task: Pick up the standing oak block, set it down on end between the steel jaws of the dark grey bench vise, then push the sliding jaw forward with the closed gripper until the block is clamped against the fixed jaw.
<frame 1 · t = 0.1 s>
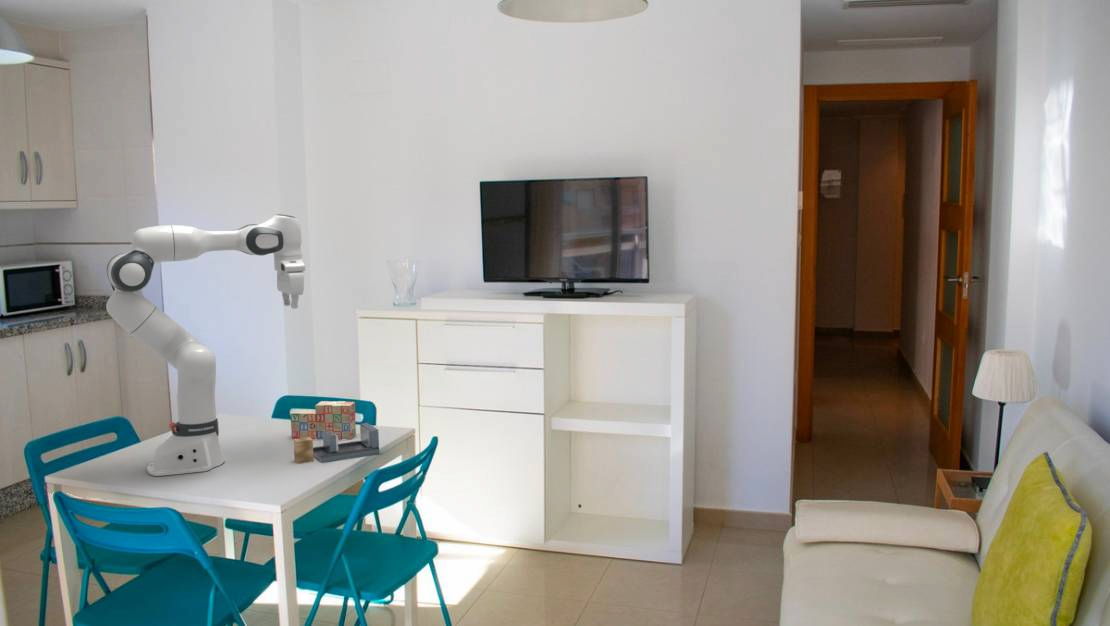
hand: (290, 307, 297), 48 cm above the table, tool pointing down, fingers open, 8 cm apart
oak block: (304, 460, 290), on the table
sliding jaw: (330, 441, 293), point 5 cm above the table, slide at 0.0 cm
stack of blocks: (324, 437, 319), on the table
vise base: (345, 454, 296), on the table
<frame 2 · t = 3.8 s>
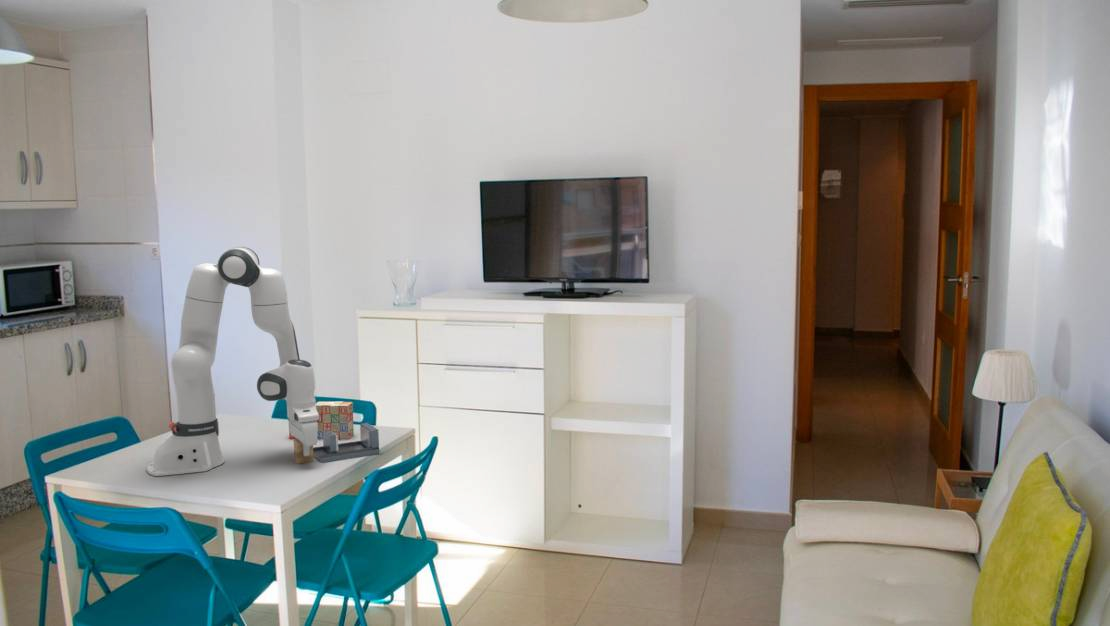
hand: (303, 453, 289), 2 cm above the table, tool pointing down, fingers closed on oak block, 4 cm apart
oak block: (304, 460, 290), on the table, touching gripper
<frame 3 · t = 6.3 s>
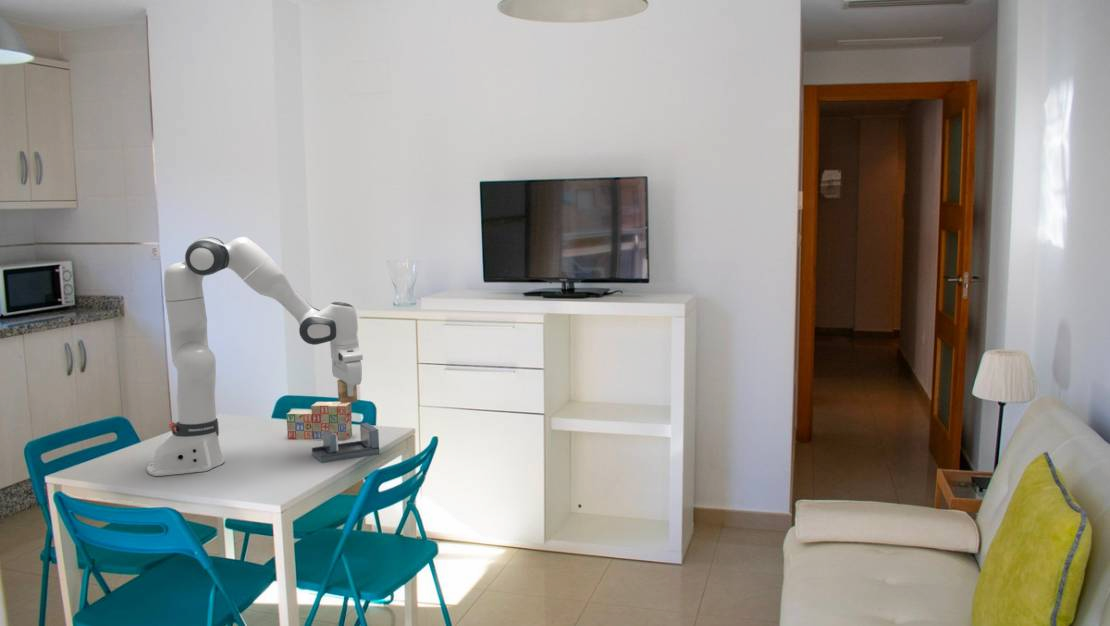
hand: (347, 394, 294), 20 cm above the table, tool pointing down, fingers closed on oak block, 4 cm apart
oak block: (348, 401, 295), point 17 cm above the table, touching gripper
when the fingers open (5 cm above the table, at t = 8.9 s): oak block drops 1 cm, resting on vise base.
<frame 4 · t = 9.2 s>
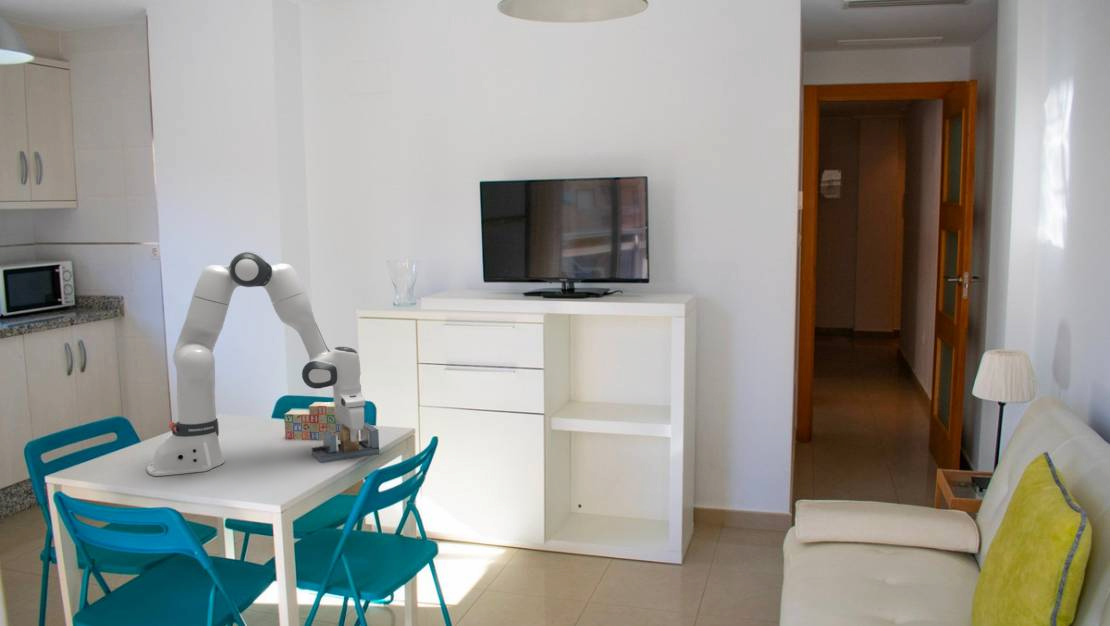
hand: (349, 438, 296), 5 cm above the table, tool pointing down, fingers open, 6 cm apart
oak block: (349, 449, 297), point 1 cm above the table, touching vise base
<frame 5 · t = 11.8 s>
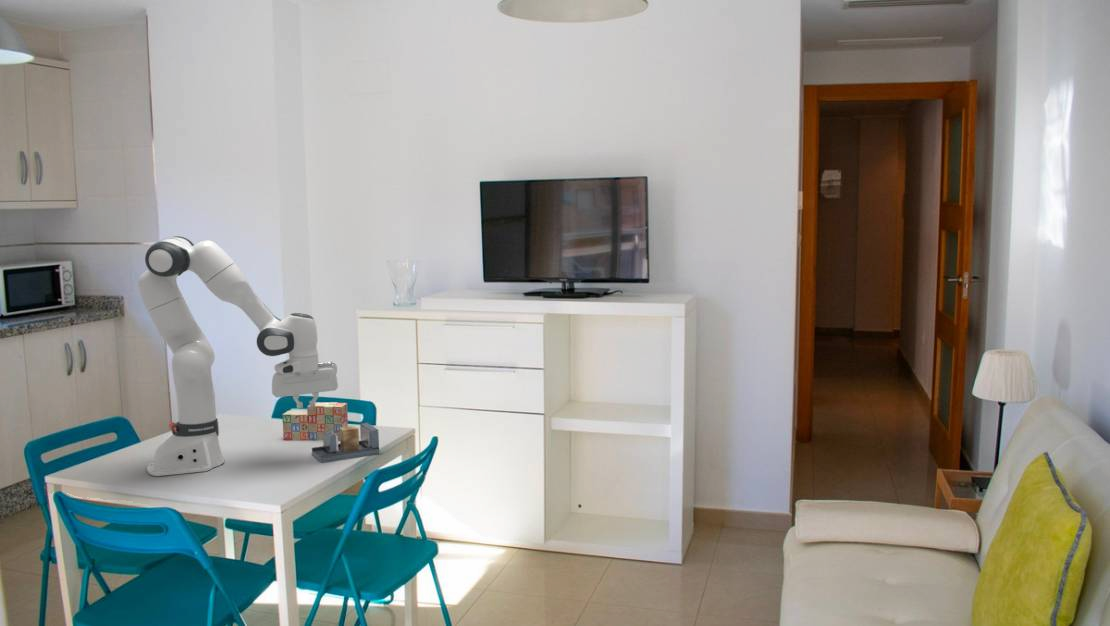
hand: (306, 407, 288), 17 cm above the table, tool pointing down, fingers open, 3 cm apart
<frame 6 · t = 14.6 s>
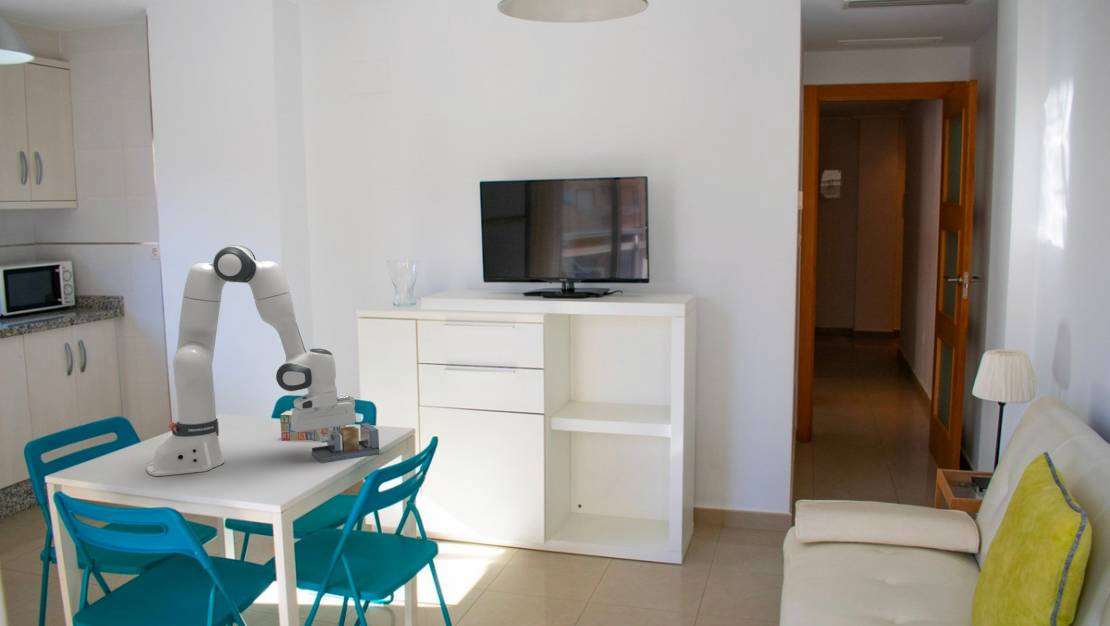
hand: (325, 441, 292), 5 cm above the table, tool pointing down, fingers closed
sliding jaw: (334, 441, 294), point 5 cm above the table, slide at 1.4 cm, touching gripper
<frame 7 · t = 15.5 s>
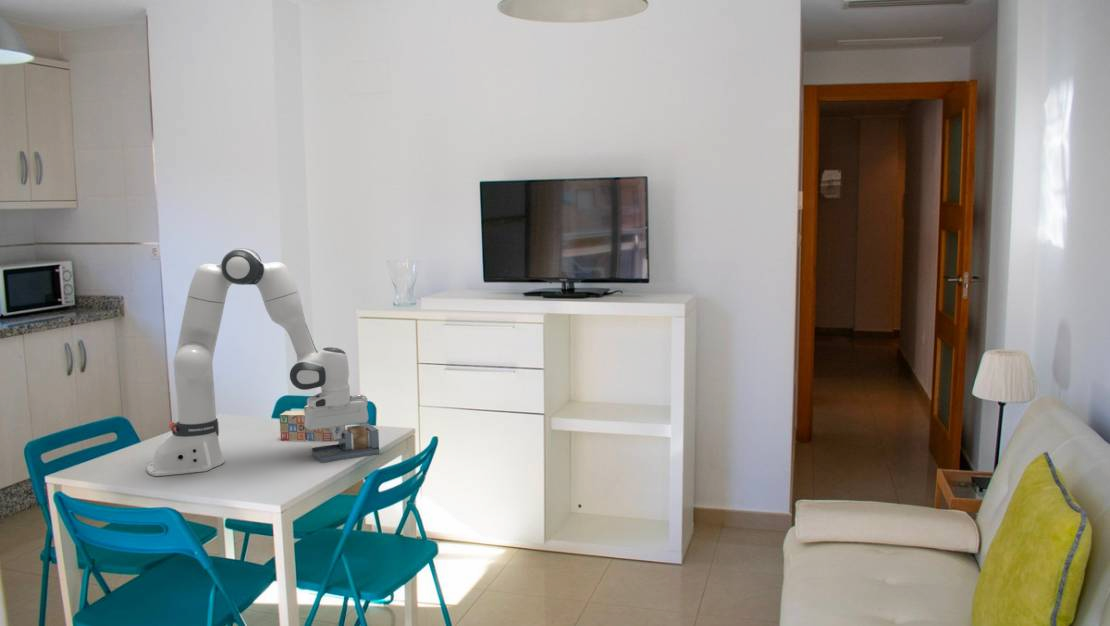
hand: (337, 439, 294), 5 cm above the table, tool pointing down, fingers closed
oak block: (357, 447, 298), point 2 cm above the table, touching sliding jaw, vise base
sliding jaw: (345, 439, 296), point 5 cm above the table, slide at 5.0 cm, touching gripper, oak block
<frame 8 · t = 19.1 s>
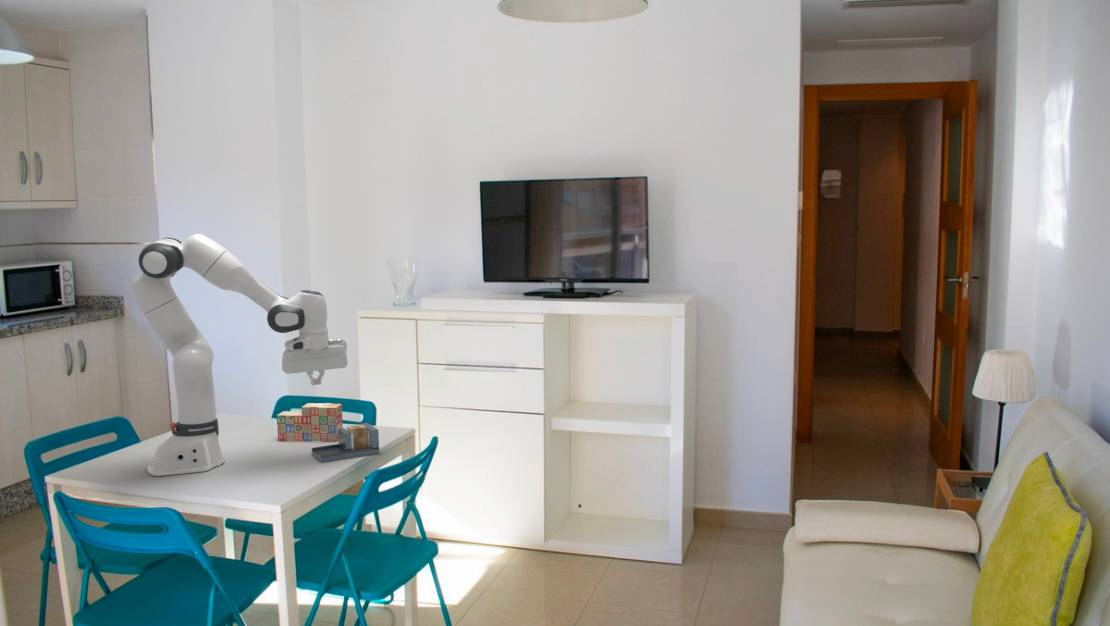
hand: (316, 384, 289), 24 cm above the table, tool pointing down, fingers closed
oak block: (357, 447, 298), point 1 cm above the table, touching vise base
sliding jaw: (345, 439, 296), point 5 cm above the table, slide at 5.0 cm
at the end: oak block 0.0 cm from the target spot, point 1.5 cm above the table; oak block tilted 0°; sliding jaw slide at 5.0 cm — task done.
